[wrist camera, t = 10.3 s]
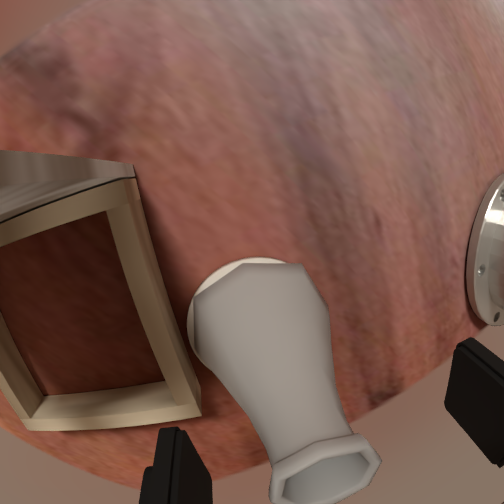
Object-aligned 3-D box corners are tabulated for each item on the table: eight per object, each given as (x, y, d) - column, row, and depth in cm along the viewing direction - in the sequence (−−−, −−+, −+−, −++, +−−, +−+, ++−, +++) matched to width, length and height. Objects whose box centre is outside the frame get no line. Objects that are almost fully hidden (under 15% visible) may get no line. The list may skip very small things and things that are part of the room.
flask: (335, 356, 17) (427, 482, 8) (216, 395, 17) (238, 551, 7) (312, 239, 15) (455, 330, 6) (169, 283, 15) (133, 444, 5)
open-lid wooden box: (132, 164, 14) (-61, 147, 2) (200, 387, 17) (216, 583, 5) (-37, 231, 12) (-182, 297, 1) (40, 407, 16) (-19, 540, 4)
